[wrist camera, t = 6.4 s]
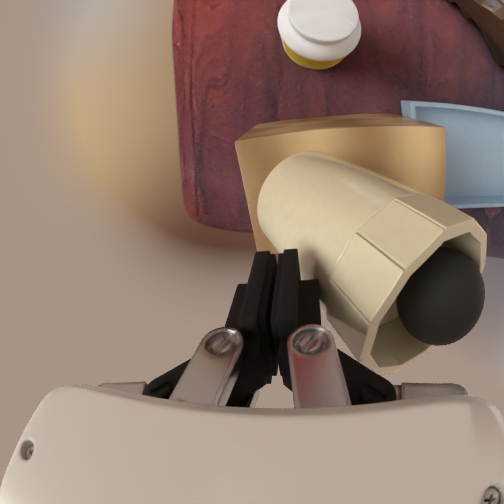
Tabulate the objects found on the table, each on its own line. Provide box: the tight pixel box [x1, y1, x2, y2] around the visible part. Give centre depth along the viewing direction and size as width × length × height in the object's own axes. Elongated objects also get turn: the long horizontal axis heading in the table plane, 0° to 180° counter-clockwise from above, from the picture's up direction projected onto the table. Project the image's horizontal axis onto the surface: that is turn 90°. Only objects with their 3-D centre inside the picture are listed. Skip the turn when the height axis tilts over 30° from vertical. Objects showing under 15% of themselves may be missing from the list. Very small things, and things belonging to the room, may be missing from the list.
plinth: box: [235, 113, 446, 254], centre depth 23 cm, size 15×9×12 cm, turn 101°
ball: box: [396, 247, 485, 346], centre depth 9 cm, size 4×4×4 cm
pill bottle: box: [278, 0, 361, 70], centre depth 17 cm, size 6×6×12 cm
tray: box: [401, 100, 504, 209], centre depth 23 cm, size 23×12×3 cm, turn 101°
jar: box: [257, 151, 487, 375], centre depth 13 cm, size 7×7×11 cm
